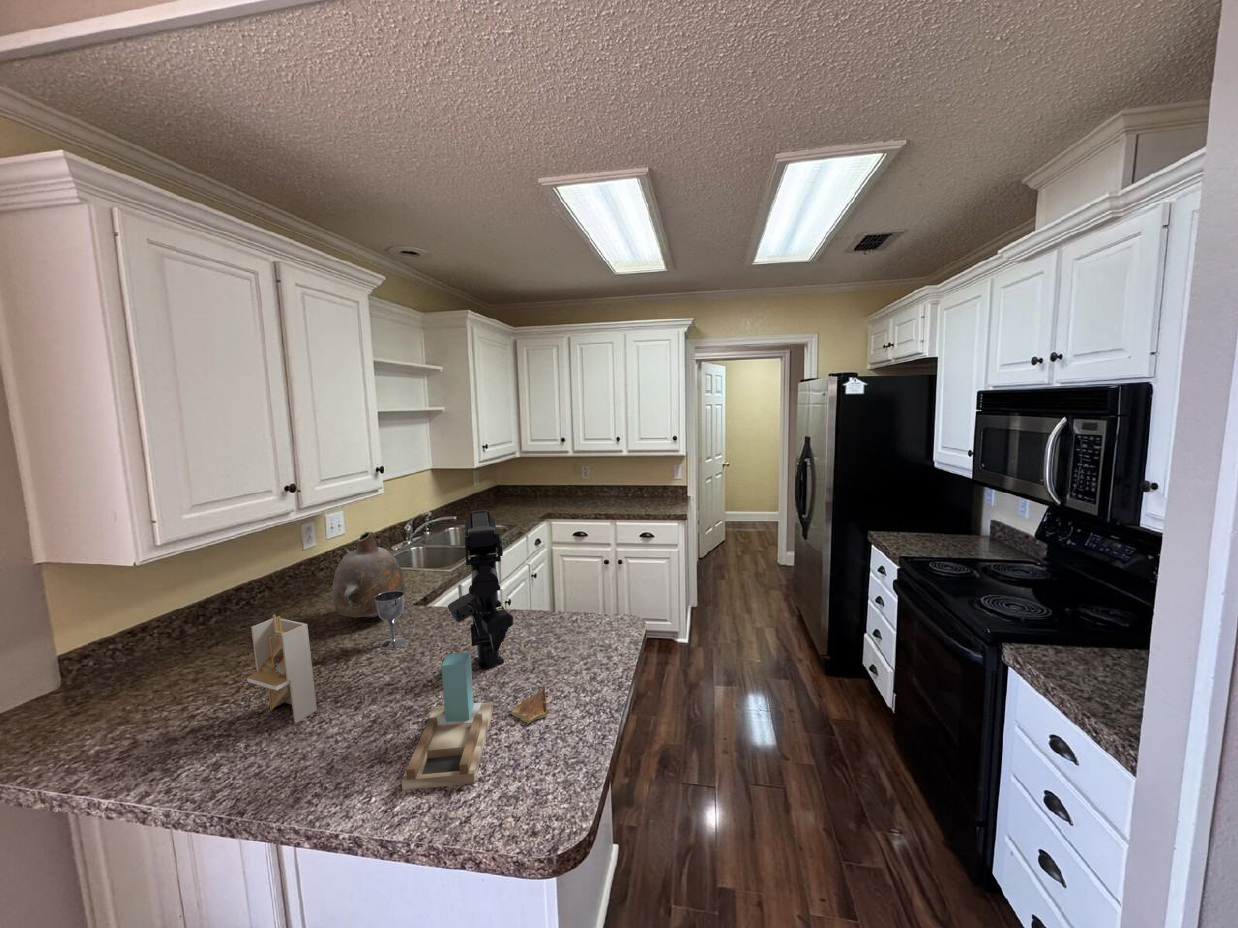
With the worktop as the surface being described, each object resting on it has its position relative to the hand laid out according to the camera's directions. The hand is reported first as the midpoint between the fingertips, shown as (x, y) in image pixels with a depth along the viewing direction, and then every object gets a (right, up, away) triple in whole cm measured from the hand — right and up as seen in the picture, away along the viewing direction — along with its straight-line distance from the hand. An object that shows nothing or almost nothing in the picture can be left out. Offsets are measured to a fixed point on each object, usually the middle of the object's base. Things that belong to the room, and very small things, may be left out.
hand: (488, 643), depth 117 cm
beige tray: (-3, -15, -16) cm, 22 cm away
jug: (-52, -9, +47) cm, 70 cm away
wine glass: (-36, -11, +28) cm, 47 cm away
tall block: (-4, -12, -9) cm, 16 cm away
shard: (+11, -14, -4) cm, 18 cm away
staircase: (-46, -15, -3) cm, 49 cm away
